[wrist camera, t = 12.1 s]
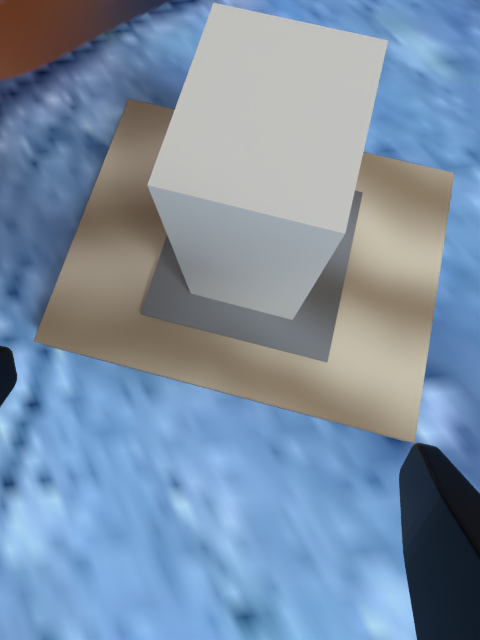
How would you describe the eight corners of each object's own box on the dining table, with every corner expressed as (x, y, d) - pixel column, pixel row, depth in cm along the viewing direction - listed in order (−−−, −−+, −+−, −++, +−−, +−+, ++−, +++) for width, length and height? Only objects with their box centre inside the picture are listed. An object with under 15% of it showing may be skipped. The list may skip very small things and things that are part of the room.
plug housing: (292, 320, 18) (345, 233, 9) (190, 293, 18) (147, 185, 9) (319, 208, 19) (388, 40, 10) (224, 185, 20) (213, 2, 11)
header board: (400, 440, 18) (454, 450, 14) (48, 346, 19) (-10, 326, 15) (439, 189, 21) (494, 129, 17) (135, 119, 22) (109, 44, 18)
